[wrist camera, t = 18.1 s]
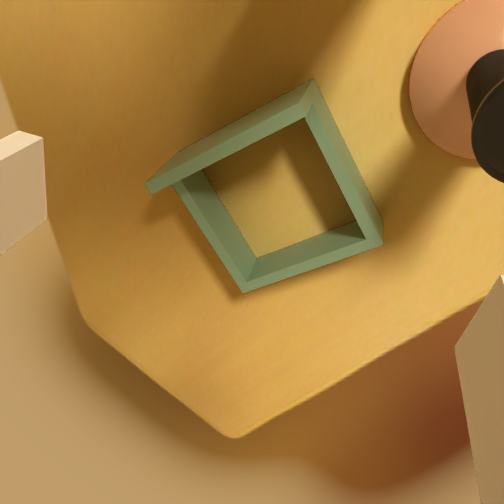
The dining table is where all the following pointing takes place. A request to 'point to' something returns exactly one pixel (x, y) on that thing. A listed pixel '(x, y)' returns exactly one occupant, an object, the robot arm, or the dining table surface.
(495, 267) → the dining table surface
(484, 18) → the saucer
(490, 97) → the drinking cup
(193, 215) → the frame
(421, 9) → the dining table surface
